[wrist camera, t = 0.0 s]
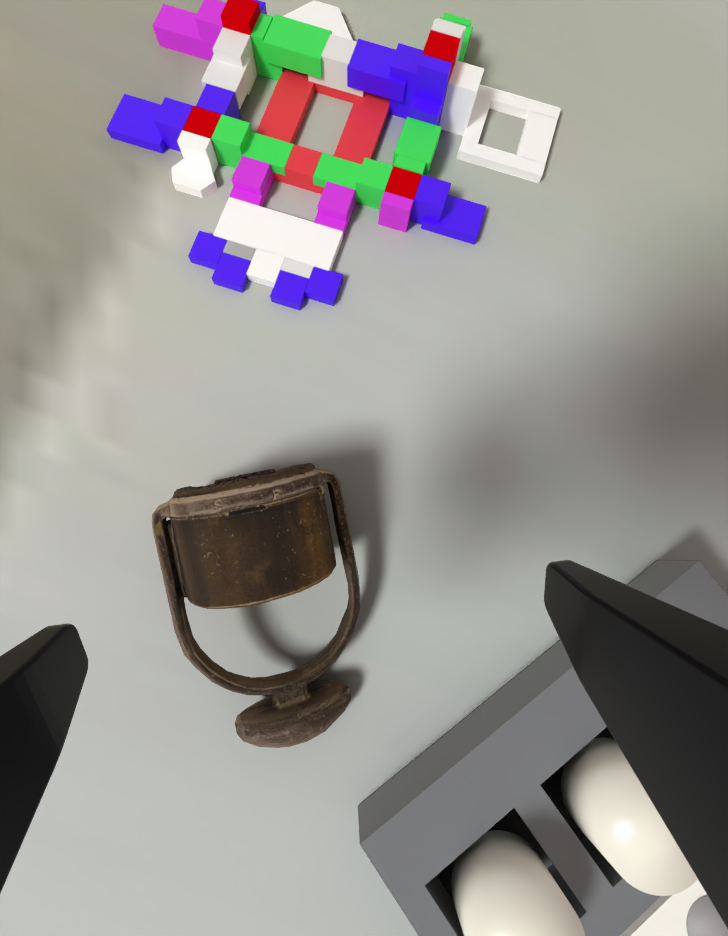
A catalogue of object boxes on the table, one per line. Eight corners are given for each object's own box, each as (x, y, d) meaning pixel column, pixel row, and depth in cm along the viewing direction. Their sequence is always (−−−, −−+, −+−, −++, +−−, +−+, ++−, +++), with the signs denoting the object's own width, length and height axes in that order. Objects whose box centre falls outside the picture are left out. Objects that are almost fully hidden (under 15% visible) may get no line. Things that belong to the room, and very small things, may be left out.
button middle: (672, 799, 20) (733, 844, 17) (603, 862, 20) (653, 922, 16) (611, 718, 21) (660, 747, 18) (542, 777, 20) (579, 819, 17)
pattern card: (865, 834, 20) (876, 840, 19) (597, 1109, 17) (603, 1121, 17) (804, 757, 20) (813, 761, 20) (536, 1016, 18) (540, 1026, 18)
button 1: (566, 896, 19) (611, 963, 16) (491, 965, 19) (522, 1050, 16) (506, 808, 20) (537, 857, 17) (431, 874, 19) (449, 937, 16)
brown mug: (418, 451, 20) (166, 395, 17) (381, 806, 16) (56, 793, 14) (369, 487, 26) (183, 449, 24) (335, 743, 23) (112, 727, 20)
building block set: (67, 243, 27) (13, 182, 23) (197, -20, 31) (173, -116, 27) (484, 372, 27) (512, 334, 22) (563, 88, 31) (599, 8, 26)
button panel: (836, 783, 23) (909, 817, 20) (535, 1080, 20) (568, 1170, 17) (656, 560, 24) (699, 560, 22) (357, 805, 22) (359, 844, 19)
